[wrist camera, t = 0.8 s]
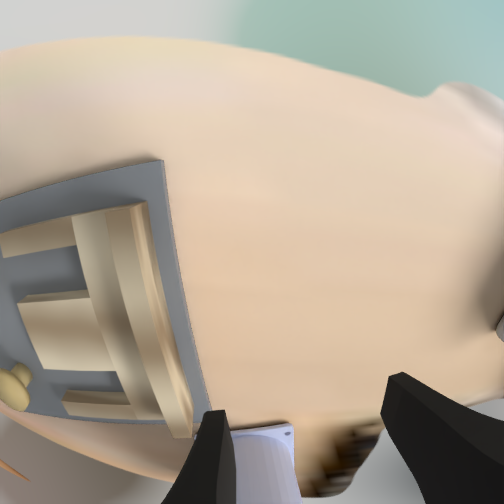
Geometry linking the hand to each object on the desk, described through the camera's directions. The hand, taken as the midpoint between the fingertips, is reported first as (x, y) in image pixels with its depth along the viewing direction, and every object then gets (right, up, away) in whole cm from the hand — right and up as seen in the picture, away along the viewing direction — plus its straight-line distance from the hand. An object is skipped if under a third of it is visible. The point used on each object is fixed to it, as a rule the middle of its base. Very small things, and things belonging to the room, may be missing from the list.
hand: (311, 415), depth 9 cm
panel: (-12, +1, +8) cm, 14 cm away
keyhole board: (-15, +1, +8) cm, 17 cm away
